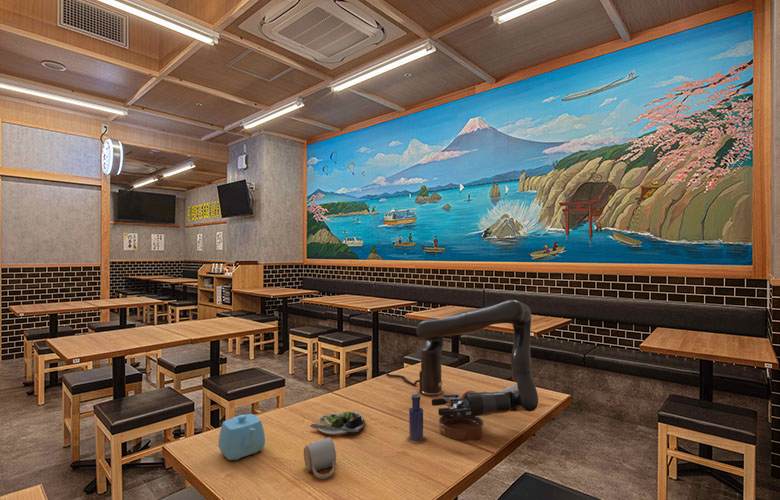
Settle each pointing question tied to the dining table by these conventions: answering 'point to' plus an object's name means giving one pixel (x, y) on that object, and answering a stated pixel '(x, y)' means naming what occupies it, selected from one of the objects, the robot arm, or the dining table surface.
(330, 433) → the salad plate
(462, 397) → the fruit
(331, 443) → the ceramic mug
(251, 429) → the teapot
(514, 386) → the seashell
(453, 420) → the bowl
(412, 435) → the soy bottle
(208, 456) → the dining table surface
